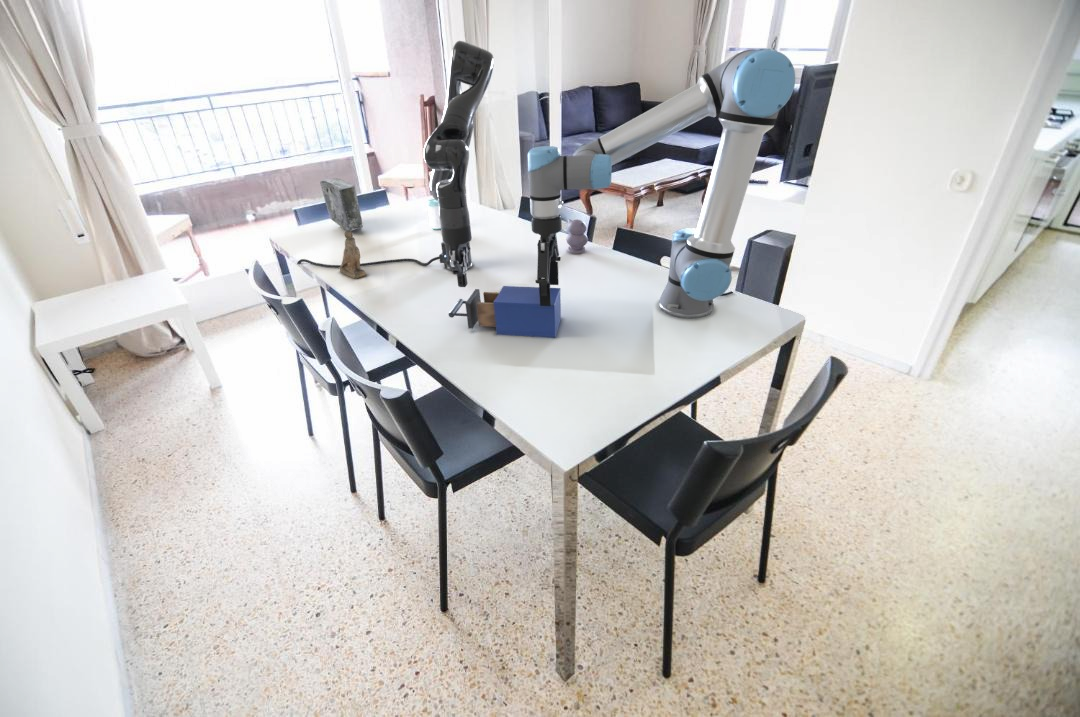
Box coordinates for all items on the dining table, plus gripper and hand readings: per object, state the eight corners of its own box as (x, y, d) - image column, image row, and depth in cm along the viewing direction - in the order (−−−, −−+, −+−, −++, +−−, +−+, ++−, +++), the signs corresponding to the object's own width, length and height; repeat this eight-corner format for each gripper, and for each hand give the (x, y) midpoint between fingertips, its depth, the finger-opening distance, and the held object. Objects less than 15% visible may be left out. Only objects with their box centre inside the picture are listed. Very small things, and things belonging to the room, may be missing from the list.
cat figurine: (592, 250, 190) (592, 219, 184) (579, 256, 185) (579, 224, 179) (574, 246, 195) (575, 215, 189) (561, 251, 191) (561, 220, 184)
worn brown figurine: (368, 281, 178) (362, 235, 166) (353, 285, 175) (347, 238, 163) (352, 266, 184) (346, 221, 172) (338, 270, 181) (331, 224, 169)
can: (445, 229, 220) (441, 202, 214) (429, 230, 220) (425, 202, 214) (447, 224, 226) (444, 198, 220) (432, 225, 226) (428, 198, 220)
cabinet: (496, 334, 136) (493, 302, 131) (505, 316, 145) (503, 285, 140) (555, 337, 133) (554, 304, 128) (560, 319, 142) (560, 288, 137)
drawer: (449, 327, 138) (446, 302, 134) (460, 312, 146) (457, 288, 142) (520, 331, 135) (519, 305, 131) (527, 315, 143) (526, 291, 139)
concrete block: (368, 232, 220) (358, 186, 209) (348, 237, 216) (336, 189, 205) (349, 220, 239) (338, 176, 228) (330, 223, 234) (319, 179, 224)
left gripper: (461, 231, 121) (469, 296, 130) (476, 216, 132) (482, 277, 141) (432, 230, 122) (441, 295, 131) (449, 215, 133) (457, 276, 142)
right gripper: (553, 230, 111) (556, 315, 122) (567, 201, 132) (569, 276, 143) (520, 230, 112) (526, 314, 123) (540, 202, 133) (543, 276, 144)
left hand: (463, 285), depth 136 cm, fingers closed
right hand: (549, 294), depth 133 cm, fingers open, 13 cm apart
